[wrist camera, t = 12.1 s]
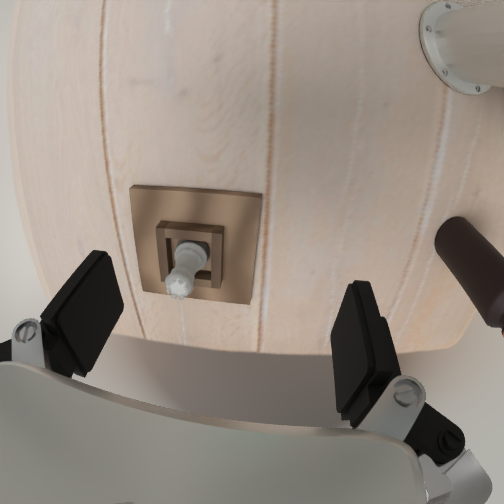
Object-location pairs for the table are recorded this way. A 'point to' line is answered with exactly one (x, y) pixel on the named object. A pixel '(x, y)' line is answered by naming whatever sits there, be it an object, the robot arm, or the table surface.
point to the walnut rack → (197, 238)
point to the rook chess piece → (186, 267)
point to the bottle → (474, 267)
